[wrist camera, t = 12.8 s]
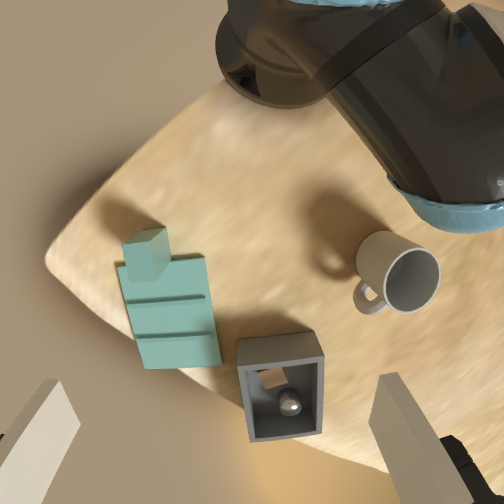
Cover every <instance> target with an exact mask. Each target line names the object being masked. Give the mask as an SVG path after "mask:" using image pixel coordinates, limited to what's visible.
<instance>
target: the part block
mask: <svg viewBox="0 0 504 504" xmlns="http://www.w3.org/2000/svg"><path fill="white" fill-rule="evenodd" d="M257 371H258V375H259V377H260V379H261V381H262V383H263V385H264V387H265V389H269V388H273V387H276V386H279V385H282V384H285V383H288V380H287V375H286V370H285V367H280V368H271V369H262V370H257Z"/></svg>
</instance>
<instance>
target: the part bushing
mask: <svg viewBox="0 0 504 504" xmlns="http://www.w3.org/2000/svg"><path fill="white" fill-rule="evenodd" d="M278 402H279V407H280V412H281V414H282V415H284V416H295V415H297V414H298V413H300V411H301V410H302V405H301V402H300V398H299V394H298V391H297V390H296V389H294V388H285V389H283V390H281V391H280V392H279V393H278Z"/></svg>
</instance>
